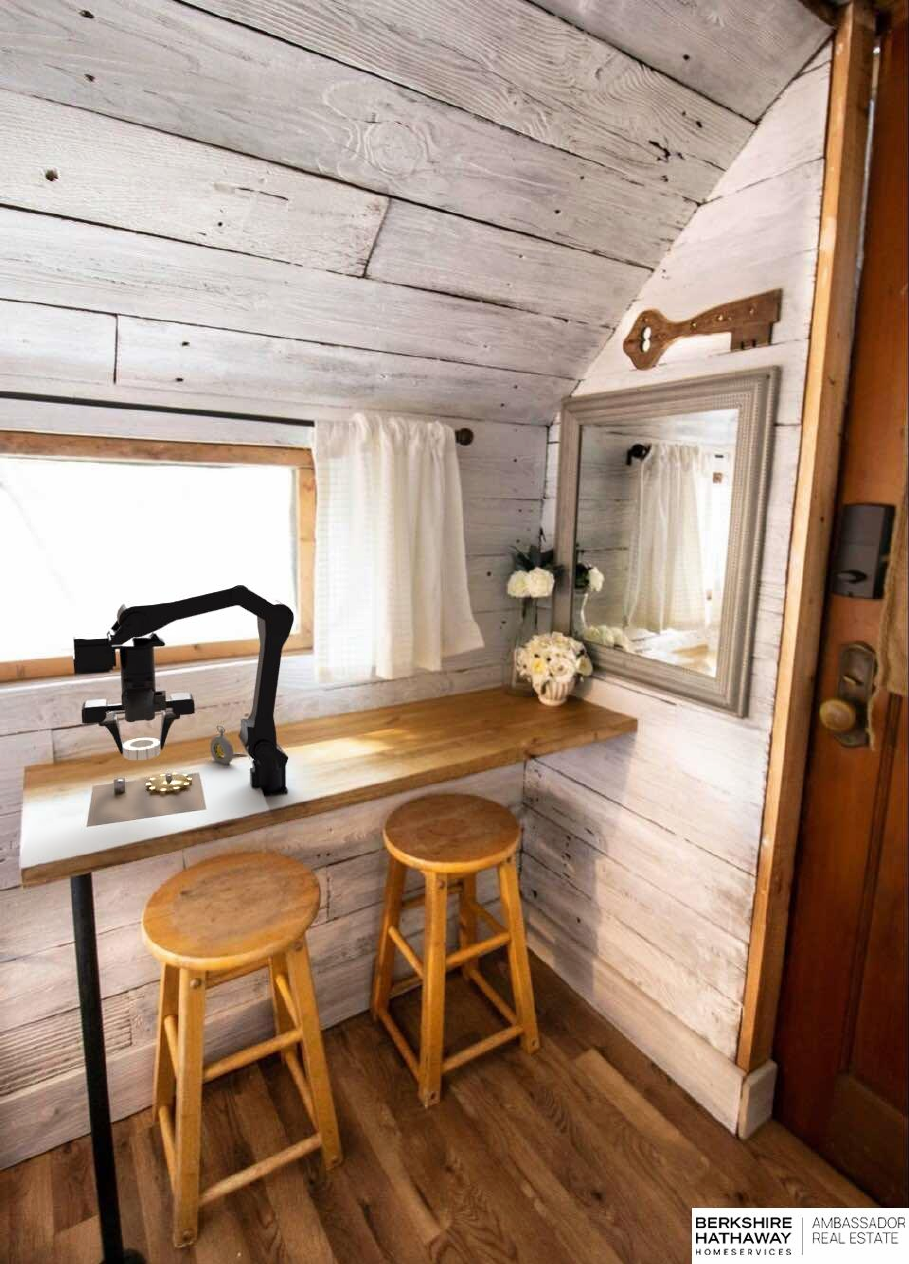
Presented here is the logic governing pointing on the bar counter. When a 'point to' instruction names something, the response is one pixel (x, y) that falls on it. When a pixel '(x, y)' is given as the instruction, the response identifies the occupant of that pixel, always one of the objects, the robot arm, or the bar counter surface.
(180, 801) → the gear board
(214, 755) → the pocket watch
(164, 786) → the brass drive gear
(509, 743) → the bar counter surface
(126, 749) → the ring gear
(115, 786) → the steel peg
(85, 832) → the bar counter surface
